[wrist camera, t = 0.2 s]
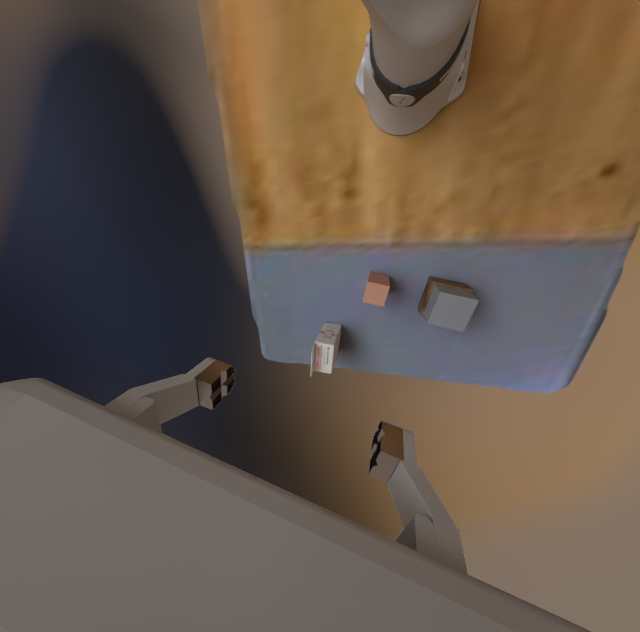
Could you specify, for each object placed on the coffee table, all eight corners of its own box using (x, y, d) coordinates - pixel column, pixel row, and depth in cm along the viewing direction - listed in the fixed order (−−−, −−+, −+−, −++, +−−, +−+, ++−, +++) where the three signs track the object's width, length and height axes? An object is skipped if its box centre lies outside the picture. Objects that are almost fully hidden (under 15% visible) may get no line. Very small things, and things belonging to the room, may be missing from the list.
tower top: (435, 284, 48) (440, 291, 43) (470, 292, 47) (479, 300, 42) (423, 314, 51) (427, 323, 46) (456, 322, 50) (463, 332, 45)
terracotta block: (370, 271, 55) (367, 281, 46) (389, 275, 54) (389, 286, 45) (365, 288, 57) (362, 301, 48) (383, 292, 56) (383, 306, 47)
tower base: (429, 276, 52) (433, 281, 48) (465, 283, 51) (473, 290, 46) (417, 307, 55) (420, 315, 51) (451, 315, 54) (457, 324, 50)
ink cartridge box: (340, 350, 66) (329, 383, 53) (323, 347, 67) (308, 378, 54) (342, 324, 62) (331, 352, 49) (325, 321, 63) (309, 348, 50)
